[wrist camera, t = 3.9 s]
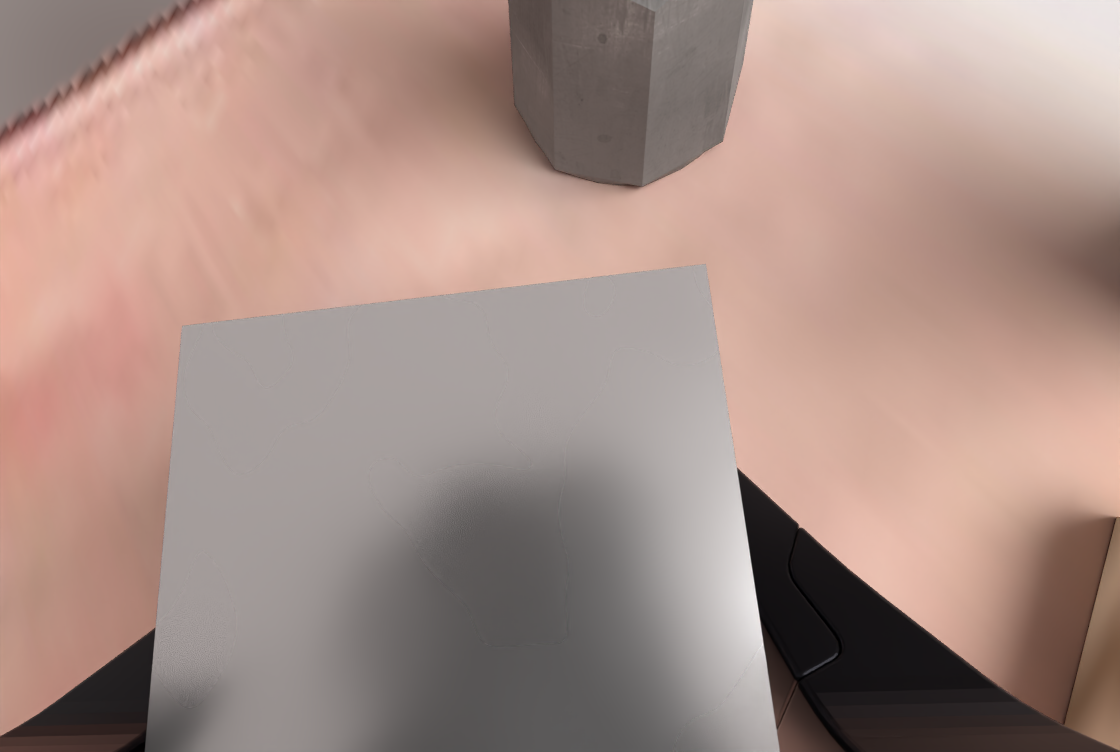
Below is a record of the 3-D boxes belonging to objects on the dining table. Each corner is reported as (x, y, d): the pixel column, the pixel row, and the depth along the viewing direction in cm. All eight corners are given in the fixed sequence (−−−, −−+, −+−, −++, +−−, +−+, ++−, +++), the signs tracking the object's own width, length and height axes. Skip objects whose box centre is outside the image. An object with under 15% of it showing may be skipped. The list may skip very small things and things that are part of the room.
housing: (646, 553, 15) (813, 976, 3) (502, 561, 15) (126, 955, 3) (630, 407, 15) (706, 263, 4) (495, 419, 16) (182, 325, 4)
